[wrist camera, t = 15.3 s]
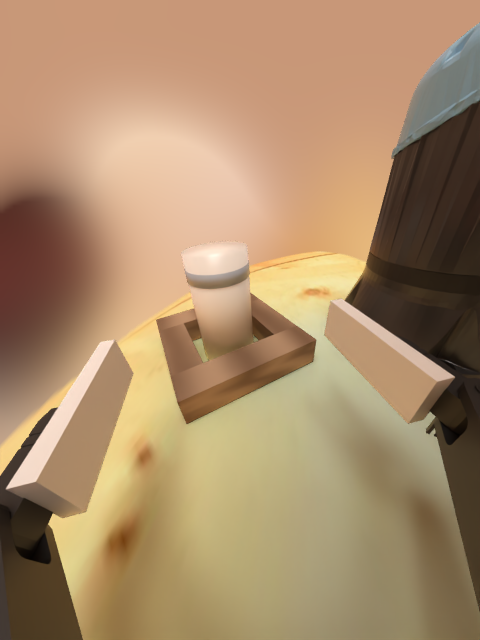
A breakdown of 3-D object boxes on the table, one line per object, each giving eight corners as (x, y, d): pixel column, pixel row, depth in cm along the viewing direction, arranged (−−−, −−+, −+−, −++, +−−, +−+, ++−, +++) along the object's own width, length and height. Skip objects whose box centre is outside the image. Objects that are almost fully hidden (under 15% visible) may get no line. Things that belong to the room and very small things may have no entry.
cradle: (250, 308, 32) (249, 291, 31) (312, 361, 21) (316, 339, 20) (162, 337, 28) (156, 319, 26) (186, 423, 17) (177, 402, 15)
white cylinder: (240, 328, 28) (231, 238, 21) (263, 353, 23) (260, 248, 17) (199, 343, 26) (174, 249, 19) (215, 374, 21) (190, 263, 15)
